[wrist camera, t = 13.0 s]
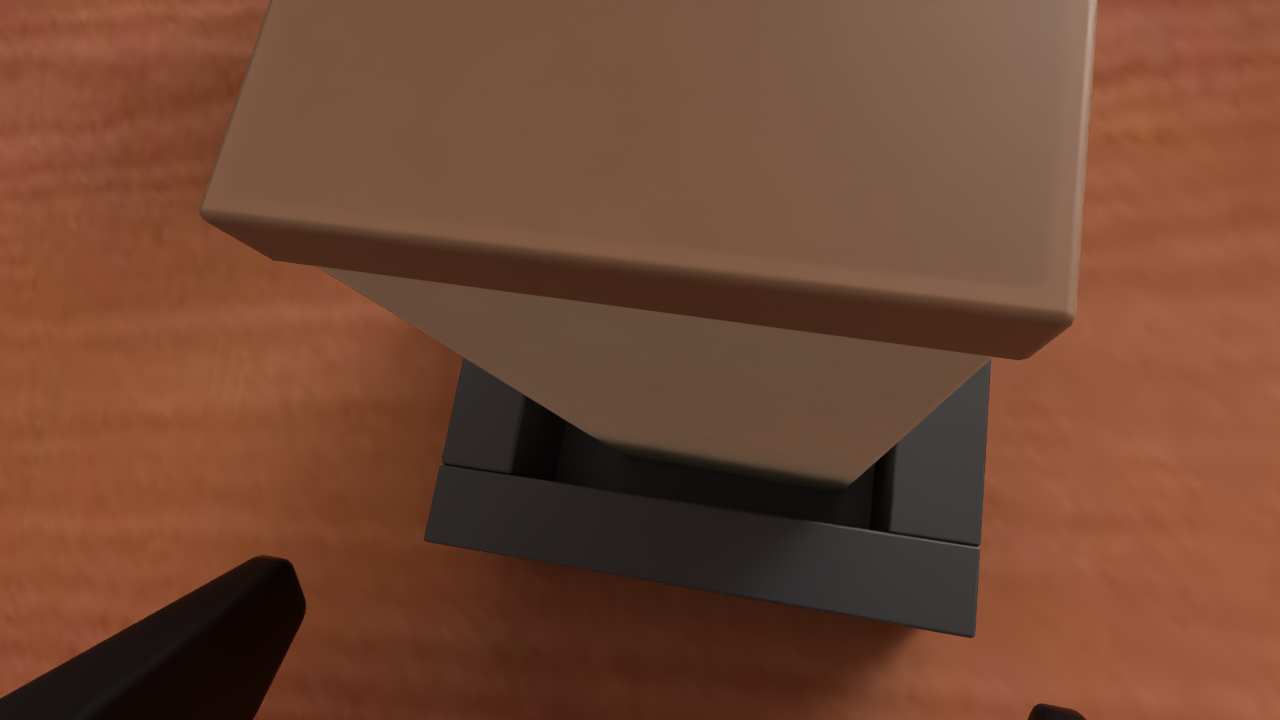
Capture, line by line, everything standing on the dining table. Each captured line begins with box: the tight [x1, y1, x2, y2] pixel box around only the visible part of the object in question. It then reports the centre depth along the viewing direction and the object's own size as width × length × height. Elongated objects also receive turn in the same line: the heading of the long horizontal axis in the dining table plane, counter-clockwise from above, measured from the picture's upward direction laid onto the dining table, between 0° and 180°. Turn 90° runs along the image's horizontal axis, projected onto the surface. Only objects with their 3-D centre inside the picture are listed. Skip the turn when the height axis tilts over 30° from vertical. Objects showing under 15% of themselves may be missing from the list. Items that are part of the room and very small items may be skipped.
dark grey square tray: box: [424, 358, 991, 638], centre depth 16 cm, size 10×10×4 cm
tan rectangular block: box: [199, 0, 1098, 493], centre depth 11 cm, size 5×5×13 cm
